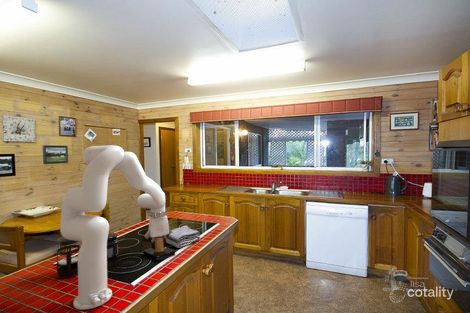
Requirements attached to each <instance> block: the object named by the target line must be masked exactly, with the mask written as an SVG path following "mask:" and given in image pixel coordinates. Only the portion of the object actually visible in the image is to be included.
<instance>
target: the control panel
mask: <svg viewBox="0 0 470 313" xmlns="http://www.w3.org/2000/svg"><path fill="white" fill-rule="evenodd" d="M142 255H143V256H145V257H146V258H148V259H150V260H152V261H154V262H157V263H158V262H160V261H162V260H166V259H169V258H171V257H173V256H175V255H176V250H174V249H173V248H170V247H168V246H166V247H164V250H163V251H161V252H154V250H153V249H152V248H151V247H149V248H146V249H143V250H142Z"/></svg>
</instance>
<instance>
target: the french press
mask: <svg viewBox="0 0 470 313" xmlns="http://www.w3.org/2000/svg"><path fill="white" fill-rule="evenodd" d="M56 242H58V244H59V245H60V246H62V247H59V248H57V249H56V279H58V280H67V279H71V278H74V277H76V276H78V256H72V254H75V253H78V252H79V250H80V248H81V246H82V245H80V244H77V243H78V242H79V241H74V240H68V239H65V238H64V237H63V236H60V237H58V238H57V239H56ZM64 250H66V251H64ZM59 256H65V258H62V259H60V260H59Z"/></svg>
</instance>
